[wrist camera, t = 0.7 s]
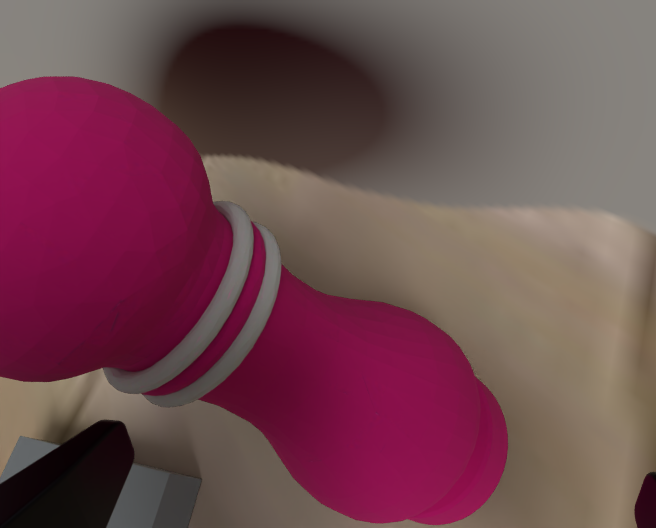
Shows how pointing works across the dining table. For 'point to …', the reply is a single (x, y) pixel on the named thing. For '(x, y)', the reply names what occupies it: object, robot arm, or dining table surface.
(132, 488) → the slate plinth
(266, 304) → the pepper mill
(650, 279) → the dining table surface
